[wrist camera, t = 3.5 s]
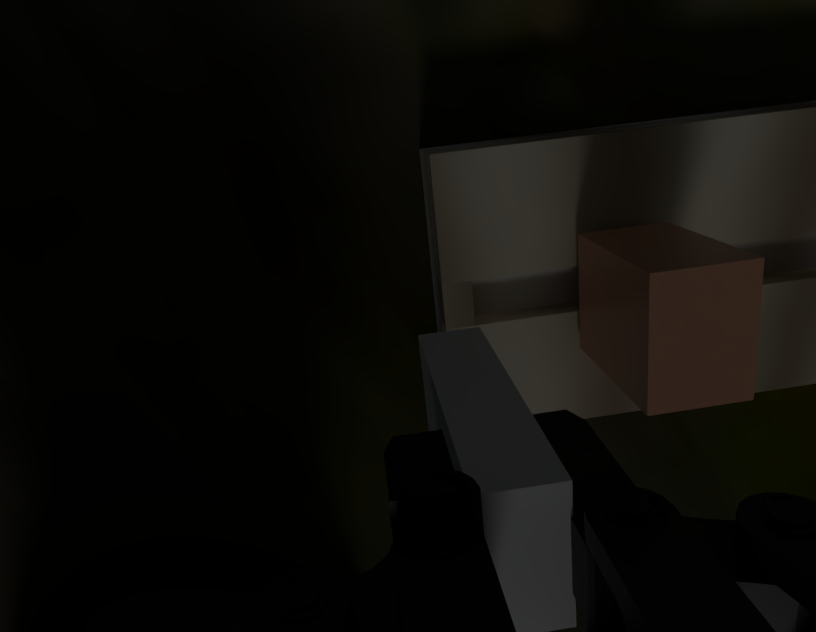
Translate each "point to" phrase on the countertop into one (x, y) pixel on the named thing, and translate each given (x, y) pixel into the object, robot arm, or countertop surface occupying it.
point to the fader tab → (670, 315)
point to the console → (610, 209)
